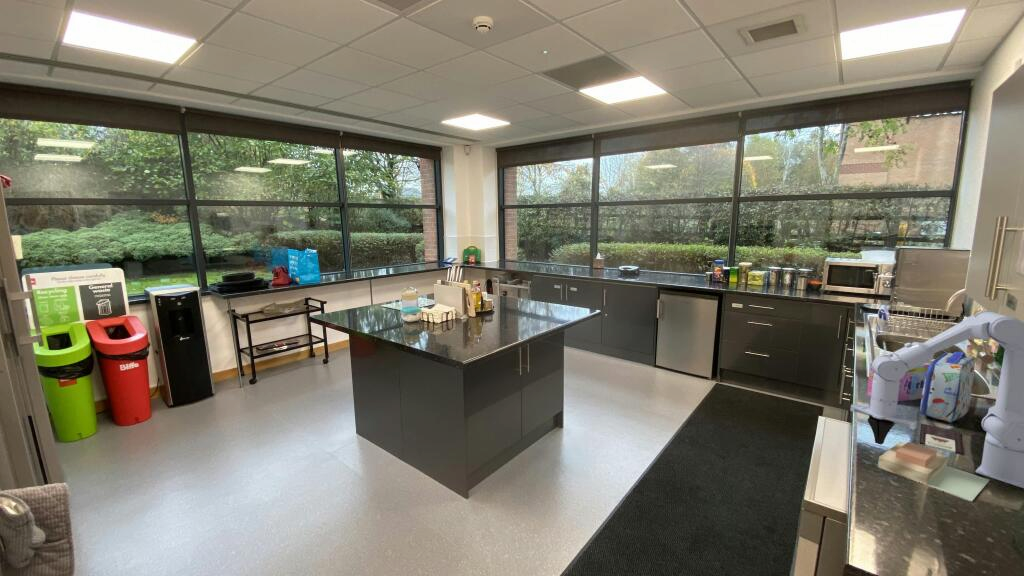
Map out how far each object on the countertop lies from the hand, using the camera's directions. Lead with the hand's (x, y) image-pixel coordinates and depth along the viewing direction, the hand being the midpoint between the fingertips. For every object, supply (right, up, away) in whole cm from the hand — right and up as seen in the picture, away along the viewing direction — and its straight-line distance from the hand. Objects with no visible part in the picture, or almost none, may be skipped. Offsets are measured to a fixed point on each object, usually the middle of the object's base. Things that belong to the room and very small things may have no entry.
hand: (879, 442), depth 122 cm
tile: (+4, -2, -7) cm, 8 cm away
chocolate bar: (+27, -3, +9) cm, 29 cm away
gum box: (+45, +2, +43) cm, 62 cm away
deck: (+4, -5, -6) cm, 8 cm away
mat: (+9, -6, -14) cm, 17 cm away
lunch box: (+47, 0, +27) cm, 54 cm away
